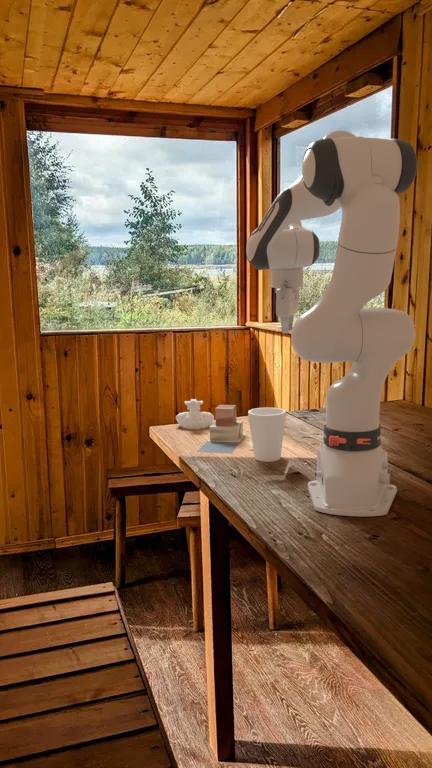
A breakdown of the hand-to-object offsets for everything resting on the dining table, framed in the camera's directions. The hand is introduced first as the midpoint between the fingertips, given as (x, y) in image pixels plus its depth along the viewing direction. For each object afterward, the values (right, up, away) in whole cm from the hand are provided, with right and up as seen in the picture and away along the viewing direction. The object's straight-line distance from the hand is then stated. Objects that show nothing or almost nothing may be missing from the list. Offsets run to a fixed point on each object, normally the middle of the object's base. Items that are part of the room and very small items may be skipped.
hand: (287, 331), depth 165 cm
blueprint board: (-18, -32, +2) cm, 36 cm away
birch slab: (-17, -30, +7) cm, 35 cm away
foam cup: (-7, -34, -13) cm, 37 cm away
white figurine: (-26, -29, +21) cm, 44 cm away
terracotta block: (-17, -26, +6) cm, 31 cm away
